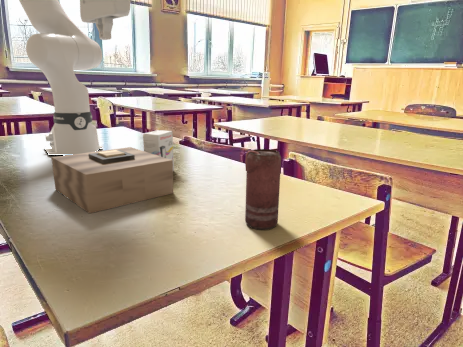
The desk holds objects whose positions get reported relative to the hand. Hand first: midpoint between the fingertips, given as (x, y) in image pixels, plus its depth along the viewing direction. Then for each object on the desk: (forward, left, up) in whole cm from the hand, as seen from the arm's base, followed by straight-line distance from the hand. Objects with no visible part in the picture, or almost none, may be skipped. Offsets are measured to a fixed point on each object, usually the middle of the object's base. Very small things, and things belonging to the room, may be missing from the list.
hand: (105, 39), depth 89 cm
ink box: (+5, +11, -35) cm, 37 cm away
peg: (+12, -6, -35) cm, 37 cm away
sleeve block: (+12, -6, -35) cm, 38 cm away
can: (+48, +6, -35) cm, 60 cm away
